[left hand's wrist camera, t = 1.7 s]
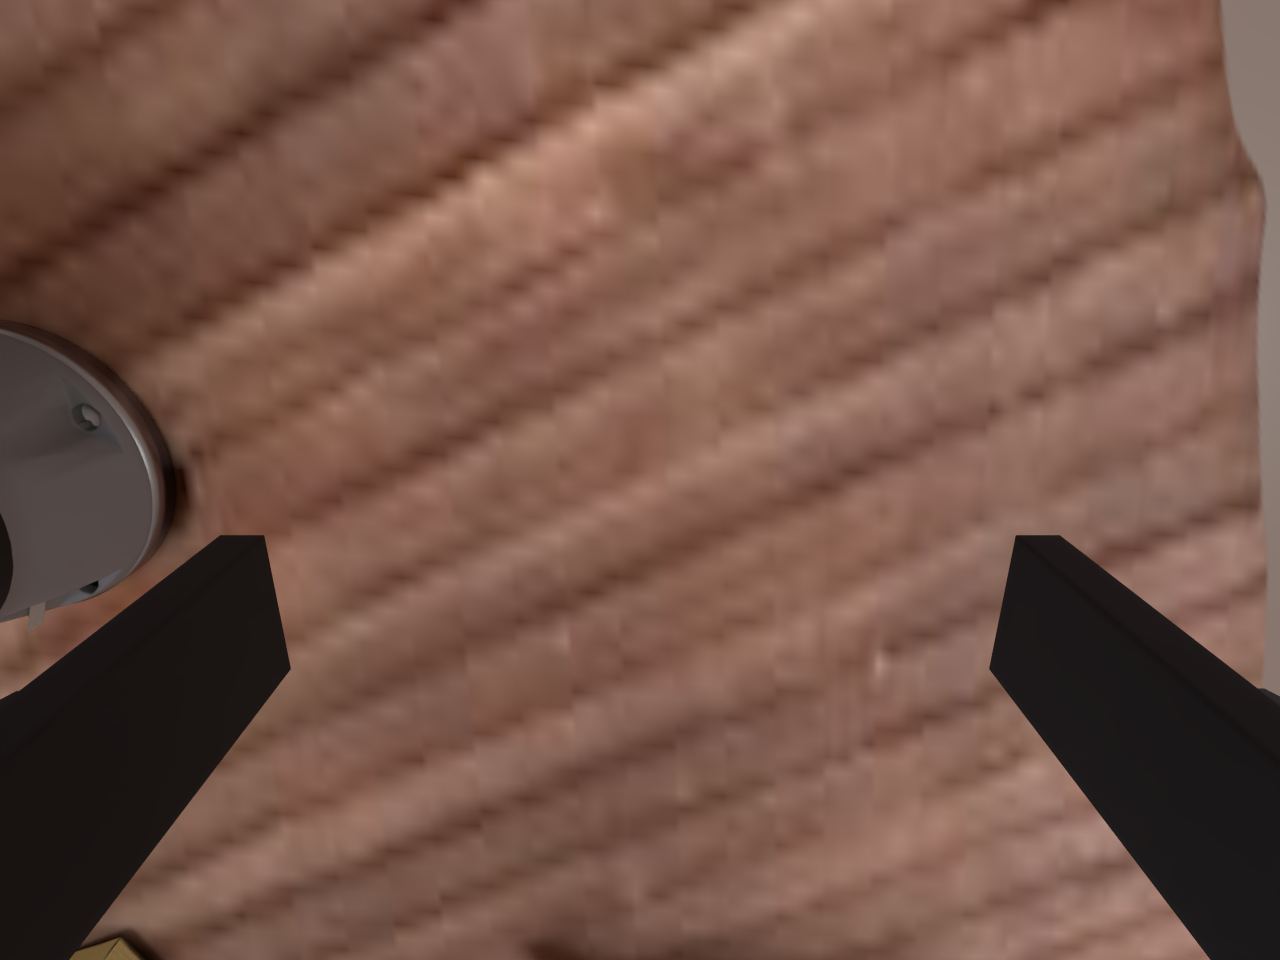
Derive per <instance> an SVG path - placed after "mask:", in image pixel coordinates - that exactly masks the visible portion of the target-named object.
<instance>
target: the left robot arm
mask: <svg viewBox="0 0 1280 960" xmlns="http://www.w3.org/2000/svg"><path fill="white" fill-rule="evenodd" d="M174 500H175V487H174V478H173V471H172V467H171V462H170V458H169V455H168V452H167V449H166V446H165V444H164V442H163V439H162V437H161V435H160V433H159V431H158V429H157V427H156V425H155V423H154V421H153V420H152V418H151V417H150V415H149V413H148V412H147V410H146V409H145V407H144V406H143V405H142V403H141V402H140V401H139V400H138V398H137V397H136V396H135V394H134V393H133V392H132V391H131V390H130V389H129V388H128V387H127V386H126V385H125V383H124V382H123V381H122V380H120V379H119V378H118V377H117V376H116V375H115V374H114V373H113V372H112V371H111V370H110V369H108V368H107V367H106V366H105V365H103V364H102V363H101V362H100V361H98V360H97V359H96V358H94V357H93V356H91V355H90V354H88V353H87V352H85V351H84V350H82V349H80V348H79V347H77V346H75V345H74V344H72V343H70V342H68V341H66V340H64V339H62V338H60V337H58V336H55V335H53V334H50V333H48V332H45V331H43V330H40V329H37V328H33V327H30V326H27V325H23V324H18V323H13V322H8V321H0V623H1V622H5V621H9V620H13V619H16V618H20V617H24V616H28V615H29V620H28V628H27V633H29V632H30V631H32V630H33V629H34V628H36V627H37V626H39V625H40V624H42V623H43V618H44V611H46V610H50V609H54V608H56V607H60V606H65V605H69V604H72V603H77V602H81V601H84V600H88V599H90V598H93V597H95V596H98V595H100V594H102V593H104V592H106V591H108V590H109V589H111V588H112V587H114V586H115V585H117V584H118V583H119V582H121V581H122V580H124V579H125V578H126V577H128V576H129V575H131V574H132V573H133V572H135V571H136V570H138V569H139V568H140V567H141V566H143V565H144V564H145V563H146V562H147V561H148V560H149V559H150V558H151V557H152V556H153V555H154V553H155V552H156V551H157V549H158V548H159V546H160V545H161V543H162V542H163V540H164V538H165V536H166V534H167V531H168V528H169V526H170V523H171V519H172V514H173V509H174ZM290 669H291V668H290V663H289V658H288V653H287V648H286V643H285V638H284V633H283V628H282V623H281V618H280V613H279V608H278V603H277V598H276V593H275V588H274V583H273V578H272V573H271V568H270V563H269V558H268V553H267V548H266V543H265V538H264V535H220V536H219V537H218V538H216V539H215V540H214V541H212V542H211V543H210V544H208V545H207V546H206V547H205V548H203V549H202V550H201V551H199V552H198V553H197V554H196V555H194V556H193V557H192V558H190V559H189V560H188V561H187V562H185V563H184V564H183V565H181V566H180V567H179V568H177V569H176V570H175V571H174V572H172V573H171V574H170V575H168V576H167V577H166V578H165V579H163V580H162V581H161V582H159V583H158V584H157V585H156V586H154V587H153V588H152V589H150V590H149V591H148V592H147V593H145V594H144V595H143V596H141V597H140V598H139V599H137V600H136V601H135V602H134V603H132V604H131V605H130V606H128V607H127V608H126V609H125V610H123V611H122V612H121V613H119V614H118V615H117V616H116V617H114V618H113V619H112V620H110V621H109V622H108V623H107V624H105V625H104V626H103V627H101V628H100V629H99V630H97V631H96V632H95V633H94V634H92V635H91V636H90V637H88V638H87V639H86V640H85V641H83V642H82V643H81V644H79V645H78V646H77V647H76V648H74V649H73V650H72V651H70V652H69V653H68V654H67V655H65V656H64V657H63V658H61V659H60V660H59V661H57V662H56V663H55V664H54V665H52V666H51V667H50V668H48V669H47V670H46V671H45V672H43V673H42V674H41V675H39V676H38V677H37V678H36V679H34V680H33V681H32V682H30V683H29V684H28V685H27V686H25V687H24V688H23V689H21V690H20V691H16V692H14V693H12V694H10V695H8V696H6V697H4V698H2V699H0V960H70V958H71V957H72V956H73V954H74V953H75V952H76V950H77V949H78V948H79V946H80V945H81V944H82V943H83V941H84V940H85V939H86V937H87V936H88V935H89V933H90V932H91V931H92V929H93V928H94V927H95V925H96V924H97V923H98V922H99V920H100V919H101V918H102V916H103V915H104V914H105V912H106V911H107V910H108V908H109V907H110V906H111V904H112V903H113V902H114V900H115V899H116V898H117V897H118V895H119V894H120V893H121V891H122V890H123V889H124V887H125V886H126V885H127V883H128V882H129V881H130V879H131V878H132V877H133V876H134V874H135V873H136V872H137V870H138V869H139V868H140V866H141V865H142V864H143V862H144V861H145V860H146V858H147V857H148V856H149V855H150V853H151V852H152V851H153V849H154V848H155V847H156V845H157V844H158V843H159V841H160V840H161V839H162V837H163V836H164V835H165V833H166V832H167V831H168V830H169V828H170V827H171V826H172V824H173V823H174V822H175V820H176V819H177V818H178V816H179V815H180V814H181V812H182V811H183V810H184V809H185V807H186V806H187V805H188V803H189V802H190V801H191V799H192V798H193V797H194V795H195V794H196V793H197V791H198V790H199V789H200V788H201V786H202V785H203V784H204V782H205V781H206V780H207V778H208V777H209V776H210V774H211V773H212V772H213V770H214V769H215V768H216V766H217V765H218V764H219V763H220V761H221V760H222V759H223V757H224V756H225V755H226V753H227V752H228V751H229V749H230V748H231V747H232V745H233V744H234V743H235V742H236V740H237V739H238V738H239V736H240V735H241V734H242V732H243V731H244V730H245V728H246V727H247V726H248V724H249V723H250V722H251V721H252V719H253V718H254V717H255V715H256V714H257V713H258V711H259V710H260V709H261V707H262V706H263V705H264V703H265V702H266V701H267V699H268V698H269V697H270V696H271V694H272V693H273V692H274V690H275V689H276V688H277V686H278V685H279V684H280V682H281V681H282V680H283V678H284V677H285V676H286V675H287V673H288V672H289V671H290ZM989 669H990V671H991V672H992V673H993V675H994V676H995V677H996V678H997V680H998V681H999V682H1000V684H1001V685H1002V686H1003V688H1004V689H1005V690H1006V692H1007V693H1008V694H1009V696H1010V697H1011V698H1012V699H1013V701H1014V702H1015V703H1016V705H1017V706H1018V707H1019V709H1020V710H1021V711H1022V713H1023V714H1024V715H1025V717H1026V718H1027V719H1028V721H1029V722H1030V723H1031V724H1032V726H1033V727H1034V728H1035V730H1036V731H1037V732H1038V734H1039V735H1040V736H1041V738H1042V739H1043V740H1044V742H1045V743H1046V744H1047V745H1048V747H1049V748H1050V749H1051V751H1052V752H1053V753H1054V755H1055V756H1056V757H1057V759H1058V760H1059V761H1060V763H1061V764H1062V765H1063V766H1064V768H1065V769H1066V770H1067V772H1068V773H1069V774H1070V776H1071V777H1072V778H1073V780H1074V781H1075V782H1076V784H1077V785H1078V786H1079V788H1080V789H1081V790H1082V791H1083V793H1084V794H1085V795H1086V797H1087V798H1088V799H1089V801H1090V802H1091V803H1092V805H1093V806H1094V807H1095V809H1096V810H1097V811H1098V812H1099V814H1100V815H1101V816H1102V818H1103V819H1104V820H1105V822H1106V823H1107V824H1108V826H1109V827H1110V828H1111V830H1112V831H1113V832H1114V833H1115V835H1116V836H1117V837H1118V839H1119V840H1120V841H1121V843H1122V844H1123V845H1124V847H1125V848H1126V849H1127V851H1128V852H1129V853H1130V855H1131V856H1132V857H1133V858H1134V860H1135V861H1136V862H1137V864H1138V865H1139V866H1140V868H1141V869H1142V870H1143V872H1144V873H1145V874H1146V876H1147V877H1148V878H1149V879H1150V881H1151V882H1152V883H1153V885H1154V886H1155V887H1156V889H1157V890H1158V891H1159V893H1160V894H1161V895H1162V897H1163V898H1164V899H1165V900H1166V902H1167V903H1168V904H1169V906H1170V907H1171V908H1172V910H1173V911H1174V912H1175V914H1176V915H1177V916H1178V918H1179V919H1180V920H1181V922H1182V923H1183V924H1184V925H1185V927H1186V928H1187V929H1188V931H1189V932H1190V933H1191V935H1192V936H1193V937H1194V939H1195V940H1196V941H1197V943H1198V944H1199V945H1200V946H1201V948H1202V949H1203V950H1204V952H1205V953H1206V954H1207V956H1208V957H1209V958H1210V960H1280V696H1278V695H1276V694H1274V693H1272V692H1270V691H1268V690H1266V689H1257V688H1256V687H1255V686H1253V685H1252V684H1251V683H1250V682H1248V681H1247V680H1246V679H1244V678H1243V677H1242V676H1241V675H1239V674H1238V673H1237V672H1235V671H1234V670H1233V669H1232V668H1230V667H1229V666H1228V665H1226V664H1225V663H1224V662H1223V661H1221V660H1220V659H1219V658H1217V657H1216V656H1215V655H1213V654H1212V653H1211V652H1210V651H1208V650H1207V649H1206V648H1204V647H1203V646H1202V645H1201V644H1199V643H1198V642H1197V641H1195V640H1194V639H1193V638H1192V637H1190V636H1189V635H1188V634H1186V633H1185V632H1184V631H1183V630H1181V629H1180V628H1179V627H1177V626H1176V625H1175V624H1173V623H1172V622H1171V621H1170V620H1168V619H1167V618H1166V617H1164V616H1163V615H1162V614H1161V613H1159V612H1158V611H1157V610H1155V609H1154V608H1153V607H1152V606H1150V605H1149V604H1148V603H1146V602H1145V601H1144V600H1143V599H1141V598H1140V597H1139V596H1137V595H1136V594H1135V593H1133V592H1132V591H1131V590H1130V589H1128V588H1127V587H1126V586H1124V585H1123V584H1122V583H1121V582H1119V581H1118V580H1117V579H1115V578H1114V577H1113V576H1112V575H1110V574H1109V573H1108V572H1106V571H1105V570H1104V569H1103V568H1101V567H1100V566H1099V565H1097V564H1096V563H1095V562H1093V561H1092V560H1091V559H1090V558H1088V557H1087V556H1086V555H1084V554H1083V553H1082V552H1081V551H1079V550H1078V549H1077V548H1075V547H1074V546H1073V545H1072V544H1070V543H1069V542H1068V541H1066V540H1065V539H1064V538H1062V537H1061V536H1060V535H1016V538H1015V543H1014V548H1013V553H1012V558H1011V563H1010V568H1009V573H1008V578H1007V583H1006V588H1005V593H1004V598H1003V603H1002V608H1001V613H1000V618H999V623H998V628H997V633H996V638H995V643H994V648H993V653H992V658H991V663H990V668H989Z"/></svg>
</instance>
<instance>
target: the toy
mask: <svg viewBox="0 0 1280 960" xmlns="http://www.w3.org/2000/svg"><path fill="white" fill-rule="evenodd" d="M70 960H146V959H145V958H144V957H143V956H142V955H141V954H140V953H138V952H137V951H136V950H135V949H134V948H133V947H132V946H131V945H130V944H129V943H128V942H127V941H126V940H125V939H124V938H123V937H119V938H115V939H112V940H109V941H106V942H103V943H100V944H97V945H93V946H90V947H87V948H84V949H81V950H78V951H76V952H75V953H74V954H73V956H72V957H71V958H70Z"/></svg>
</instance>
